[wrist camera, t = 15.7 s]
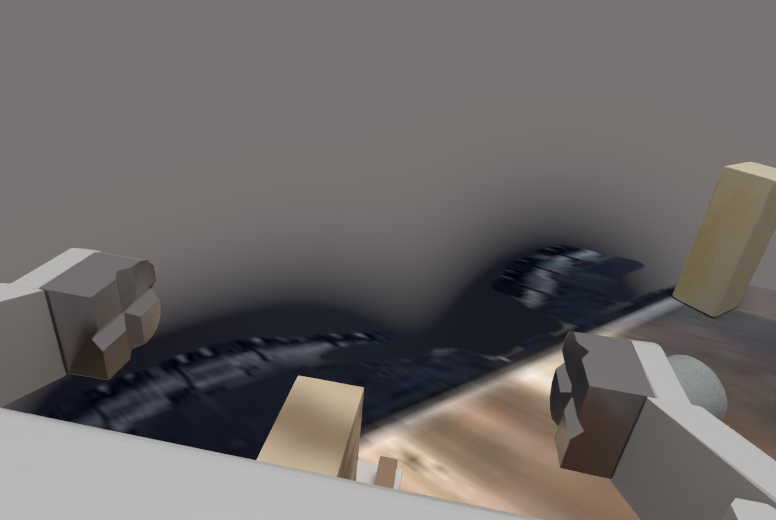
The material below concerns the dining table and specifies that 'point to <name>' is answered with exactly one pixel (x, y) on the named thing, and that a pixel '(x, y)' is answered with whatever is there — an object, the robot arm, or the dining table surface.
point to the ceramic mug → (700, 384)
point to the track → (380, 473)
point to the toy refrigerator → (730, 239)
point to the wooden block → (317, 429)
